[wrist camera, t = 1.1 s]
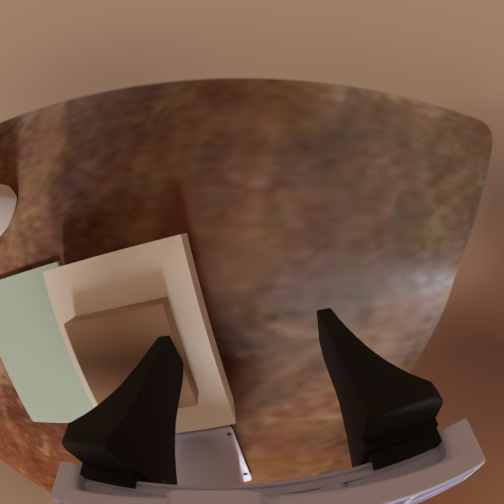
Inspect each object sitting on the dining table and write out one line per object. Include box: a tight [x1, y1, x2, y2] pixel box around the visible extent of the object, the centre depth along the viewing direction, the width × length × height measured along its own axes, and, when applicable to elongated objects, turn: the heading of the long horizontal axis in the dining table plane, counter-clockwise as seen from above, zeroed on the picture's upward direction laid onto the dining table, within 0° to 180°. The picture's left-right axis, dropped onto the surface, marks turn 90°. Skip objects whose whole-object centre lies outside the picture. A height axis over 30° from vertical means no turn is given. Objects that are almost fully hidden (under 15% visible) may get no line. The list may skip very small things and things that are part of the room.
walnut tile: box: [64, 297, 199, 408], centre depth 19 cm, size 8×8×2 cm
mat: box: [0, 261, 94, 423], centre depth 23 cm, size 17×13×1 cm
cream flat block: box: [43, 233, 236, 433], centre depth 22 cm, size 16×12×4 cm
